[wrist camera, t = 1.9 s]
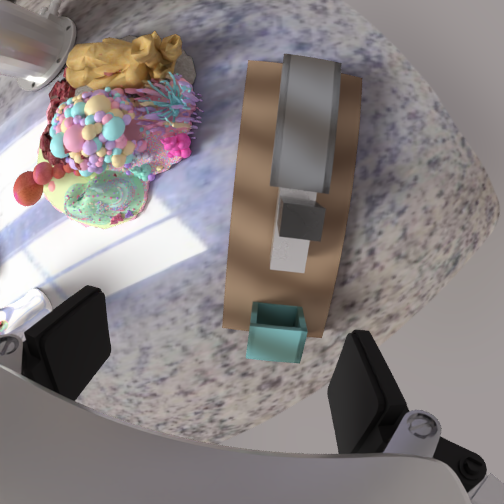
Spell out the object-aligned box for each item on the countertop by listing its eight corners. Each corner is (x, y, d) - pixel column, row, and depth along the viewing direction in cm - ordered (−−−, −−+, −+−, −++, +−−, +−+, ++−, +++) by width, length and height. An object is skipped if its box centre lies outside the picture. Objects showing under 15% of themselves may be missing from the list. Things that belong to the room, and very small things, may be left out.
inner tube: (290, 74, 24) (298, 40, 16) (322, 79, 24) (342, 48, 16) (269, 258, 29) (270, 292, 21) (300, 262, 29) (311, 296, 21)
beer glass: (52, 291, 35) (-12, 338, 21) (58, 329, 37) (4, 380, 23) (25, 281, 35) (-36, 320, 21) (31, 316, 37) (-22, 359, 23)
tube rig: (249, 65, 26) (244, 39, 19) (358, 81, 25) (379, 62, 19) (224, 321, 34) (214, 354, 28) (319, 331, 34) (329, 364, 27)
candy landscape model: (67, 47, 25) (27, 29, 16) (224, 39, 25) (209, -2, 16) (37, 213, 32) (-7, 227, 23) (180, 246, 32) (150, 275, 23)
